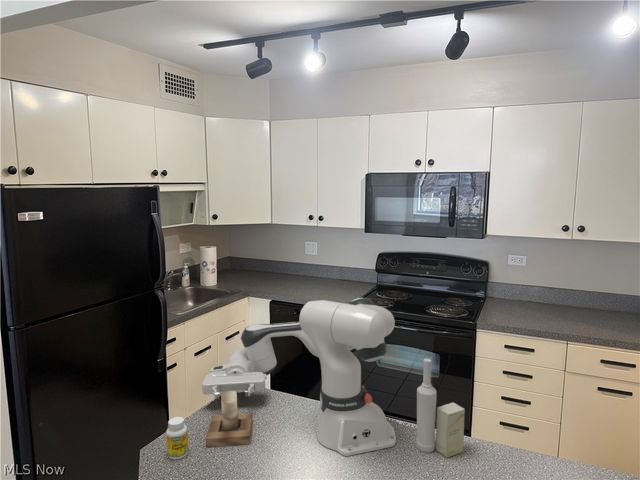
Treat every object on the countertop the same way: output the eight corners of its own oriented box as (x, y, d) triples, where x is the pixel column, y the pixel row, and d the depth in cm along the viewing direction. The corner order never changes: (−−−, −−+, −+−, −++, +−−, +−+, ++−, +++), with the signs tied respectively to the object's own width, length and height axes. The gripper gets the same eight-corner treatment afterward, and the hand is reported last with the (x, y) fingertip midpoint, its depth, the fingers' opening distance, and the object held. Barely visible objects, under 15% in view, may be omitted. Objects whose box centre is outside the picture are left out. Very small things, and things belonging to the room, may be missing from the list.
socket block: (252, 420, 129) (252, 413, 128) (249, 444, 117) (249, 435, 116) (212, 423, 127) (212, 415, 127) (205, 447, 116) (205, 438, 115)
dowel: (238, 428, 125) (237, 390, 123) (237, 437, 120) (236, 397, 119) (223, 429, 124) (222, 391, 123) (222, 438, 120) (220, 398, 118)
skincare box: (446, 458, 110) (448, 414, 108) (434, 449, 114) (435, 407, 112) (464, 451, 113) (465, 408, 111) (452, 442, 117) (453, 401, 115)
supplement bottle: (185, 445, 117) (183, 412, 115) (191, 455, 112) (189, 421, 111) (165, 452, 114) (163, 418, 112) (170, 462, 109) (168, 428, 108)
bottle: (420, 439, 118) (422, 354, 115) (437, 445, 115) (440, 359, 112) (412, 448, 114) (414, 361, 111) (430, 455, 111) (433, 365, 108)
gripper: (267, 382, 145) (266, 402, 131) (206, 385, 143) (199, 407, 129) (266, 364, 144) (265, 383, 130) (205, 368, 142) (198, 387, 128)
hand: (232, 395), depth 130 cm, fingers open, 8 cm apart
